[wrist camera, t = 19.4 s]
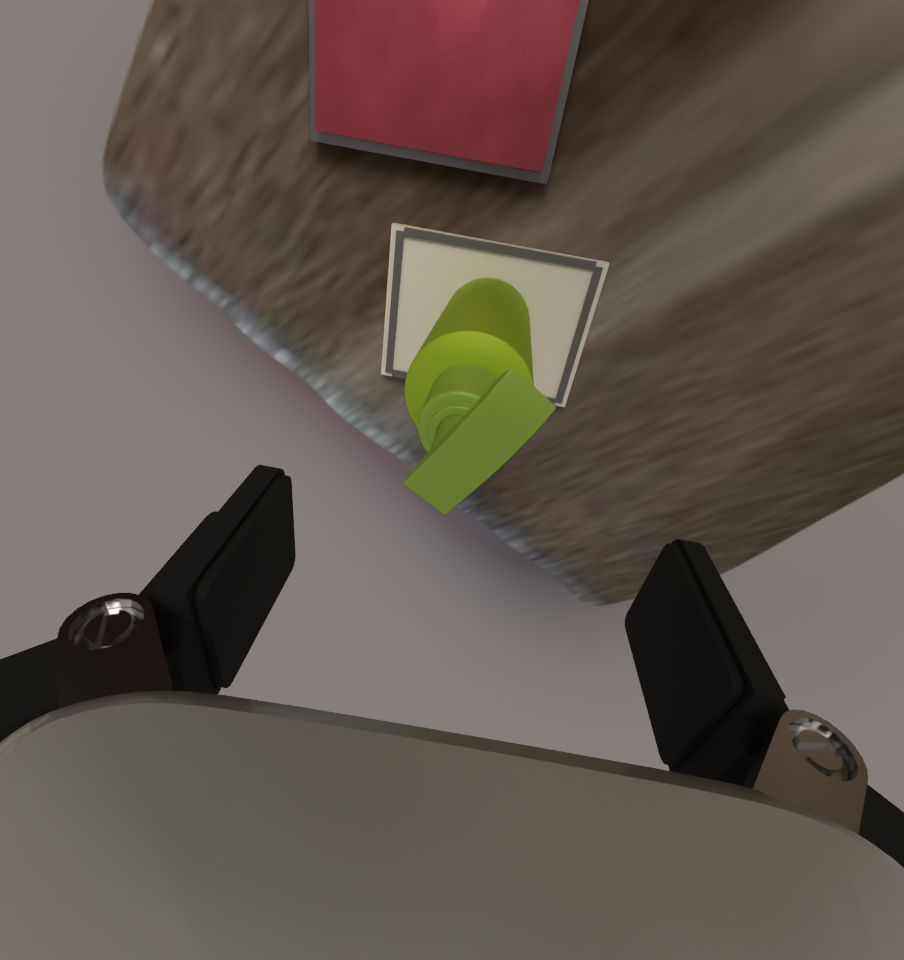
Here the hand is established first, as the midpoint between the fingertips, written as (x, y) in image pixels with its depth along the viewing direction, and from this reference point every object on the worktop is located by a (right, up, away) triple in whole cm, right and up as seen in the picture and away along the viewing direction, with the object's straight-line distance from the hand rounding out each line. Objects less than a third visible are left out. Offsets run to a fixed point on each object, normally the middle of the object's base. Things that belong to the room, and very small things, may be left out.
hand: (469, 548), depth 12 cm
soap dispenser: (+2, +13, +20) cm, 24 cm away
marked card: (+2, +13, +21) cm, 25 cm away
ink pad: (-1, +25, +14) cm, 28 cm away
